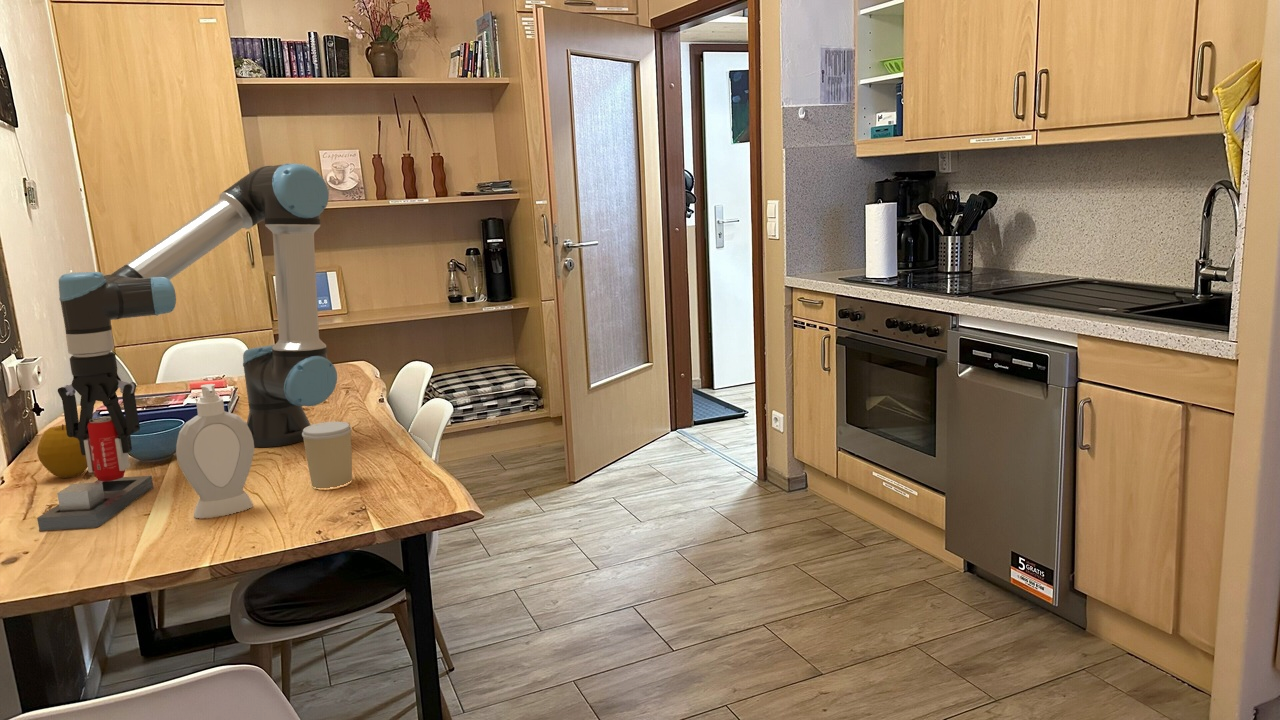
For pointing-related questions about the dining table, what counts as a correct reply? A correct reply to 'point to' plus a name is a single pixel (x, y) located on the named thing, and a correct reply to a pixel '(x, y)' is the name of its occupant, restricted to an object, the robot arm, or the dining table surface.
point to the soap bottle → (216, 457)
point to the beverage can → (104, 449)
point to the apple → (61, 453)
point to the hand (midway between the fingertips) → (109, 469)
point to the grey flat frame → (93, 503)
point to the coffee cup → (328, 453)
